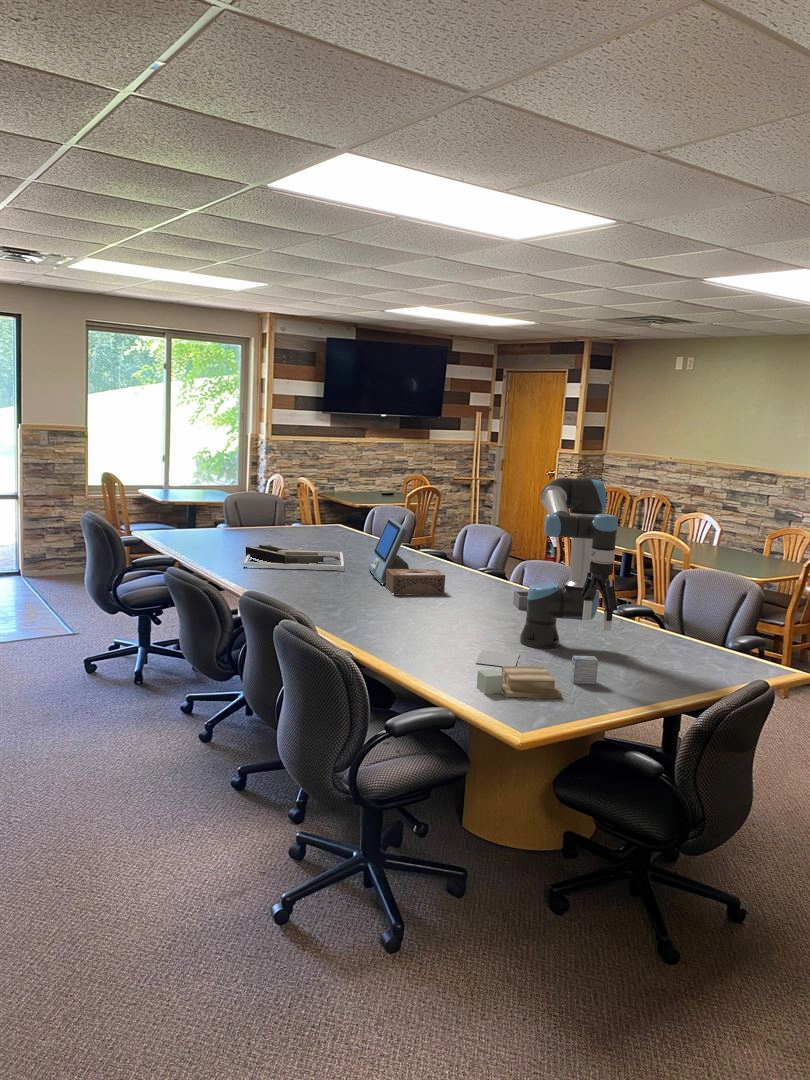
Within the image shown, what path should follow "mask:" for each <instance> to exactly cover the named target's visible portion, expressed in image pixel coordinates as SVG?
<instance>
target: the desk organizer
mask: <svg viewBox="0 0 810 1080" xmlns="http://www.w3.org/2000/svg"><path fill="white" fill-rule="evenodd" d="M528 592H529V591H524V590H523V591H520V590H519V591H518V590H514V591H513V600H512V604H513V605H514V606H515V608H517V610H525V611H527V603H528V599H527V597H528Z"/></svg>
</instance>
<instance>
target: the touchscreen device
mask: <svg viewBox="0 0 810 1080" xmlns="http://www.w3.org/2000/svg"><path fill="white" fill-rule="evenodd" d="M384 525H385V526H384V528H383V530H382V532H381V535H380V536H379V539H378V542H377V543H376V545H375V548H374V550H373V553H372V556H371V557H370V561H369V563H368V571H369V570H370V571H371V573H372V574H373V575H374V576H375V578H376V579H377V580H378V581H379V582H380V583H383V584H386V569H410V568H409V564H408V562H406V561H405V560H404V559H403V558H402V557H401V556H400V555H398V553H399V550H400V547H401V546H402V543H403V541H404V540H405V537H406V535H407V532H408V528H407V527H405V526H404V525H402V524H401V523H400V522H398V521H396V519H392V518H391V517H389V518H388V519H387V521H386V524H384ZM370 571H369V572H370ZM371 573H370V574H371ZM372 574H371V575H372ZM373 575H372V576H373ZM374 576H373V577H374ZM375 578H374V579H375ZM376 579H375V580H376ZM377 580H376V581H377ZM378 581H377V582H378ZM379 582H378V583H379ZM380 583H379V584H380Z"/></svg>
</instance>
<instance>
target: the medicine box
mask: <svg viewBox="0 0 810 1080" xmlns="http://www.w3.org/2000/svg"><path fill="white" fill-rule="evenodd" d="M598 667H599V660H598V658H597V657H596V656H594V655H592V656H591V655H572V657H571V666H570V678H569V679H570V682H571V683H572V684H574V685H597V679H598Z"/></svg>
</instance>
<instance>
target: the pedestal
mask: <svg viewBox="0 0 810 1080" xmlns="http://www.w3.org/2000/svg"><path fill="white" fill-rule="evenodd" d="M501 674H502V675H503V685H502V692H503V693H502V694H503V695H505V696H504V698H509V697H528V698H527V699H562V697H563V693H562V692H561V691H560V690H559V689H558V687H557V686H556V680H555V679H554V678H553V677H552V676H551V675H550V673H549V672H548V671H547V670H546V668H545V667H544V666H501Z"/></svg>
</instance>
